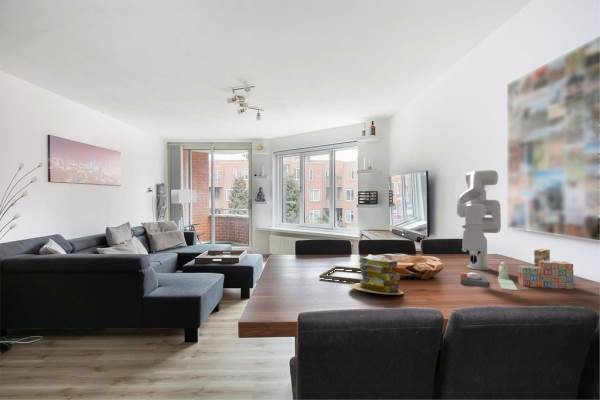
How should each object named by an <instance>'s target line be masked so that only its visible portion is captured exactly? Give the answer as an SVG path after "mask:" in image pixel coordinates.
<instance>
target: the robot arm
mask: <svg viewBox="0 0 600 400" xmlns="http://www.w3.org/2000/svg"><path fill="white" fill-rule="evenodd" d="M465 181H466V185H467V190H466V191H464V192H463V193H462V194H461V195H460V196H459V198H458V199H457V206H456V214H457V216H458V217H459V218H464V219H465V220H464V221H465V223H464V224H463V225H462V227H461V228H462V229H464V230H463V231H462V232H463V233H462V245H461V246H462V248H461V251H462V252H464V253H467V254H468V255H469V263H468V264H467V265H466V267H467V268H469V269H472V270H473V269H474V270H480V271H481V270H483V271H484V270H485V271H486V270H487V271H488V270H490V269H491V266H490V265H488V239H487V237H486V236H485V233H486V234H499V232H501V228H502V227H501V226H502V224H501V223H502V221H501V219H502V217H501V216H502V214H501V210H502V209H501V203H500V201H499V200H497V199H487V191H486V190H485V187H486V186H495V185H497V183H498V181H499V175H498V171H496V170H493V169H492V170H490V169H489V170H474V171H469V172H466V174H465ZM468 202H470V203H468ZM485 216H486V217H485ZM489 216H491V217H489Z"/></svg>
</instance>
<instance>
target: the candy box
mask: <svg viewBox="0 0 600 400" xmlns="http://www.w3.org/2000/svg"><path fill="white" fill-rule="evenodd" d="M533 253H534V258H533V260H534V266H538V260H541V261H551V250H550V249H548V248H540V249H534V250H533Z"/></svg>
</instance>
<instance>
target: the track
mask: <svg viewBox="0 0 600 400" xmlns="http://www.w3.org/2000/svg"><path fill="white" fill-rule="evenodd" d="M497 281H498V283H499V287H500V288H501V290H506V291H507V290H508V291H515V292H516V291H517V292H518V291H519V289H518V288H517V286H516V285H515V283H514V281H513V280H512V279H510V278H509V279H499V278H498V277H497Z"/></svg>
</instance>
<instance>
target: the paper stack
mask: <svg viewBox="0 0 600 400" xmlns="http://www.w3.org/2000/svg"><path fill="white" fill-rule="evenodd" d="M359 258H360V259H359V261H358V263H359V264H360V265H359V268H360V270H361V271H362V272H361V273H360V274H361V276H362V278H361V279H362V280H361V281H360V284H353V283H349V285H348V286H349V287H350V288H351V289H355V290H359V291H362V292H363V293H364V294H366V293H367V292H368V293H374V294H381V295H402V294H404V291H403V290H400V289H399V285H400V284H398V283H397V281H400V279H401V273H397V272H392V269H393V268H397V267H398V260H393V259H386V258H381V257H379V256H376V255H373V254H368V255H367V256H360V257H359Z"/></svg>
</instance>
